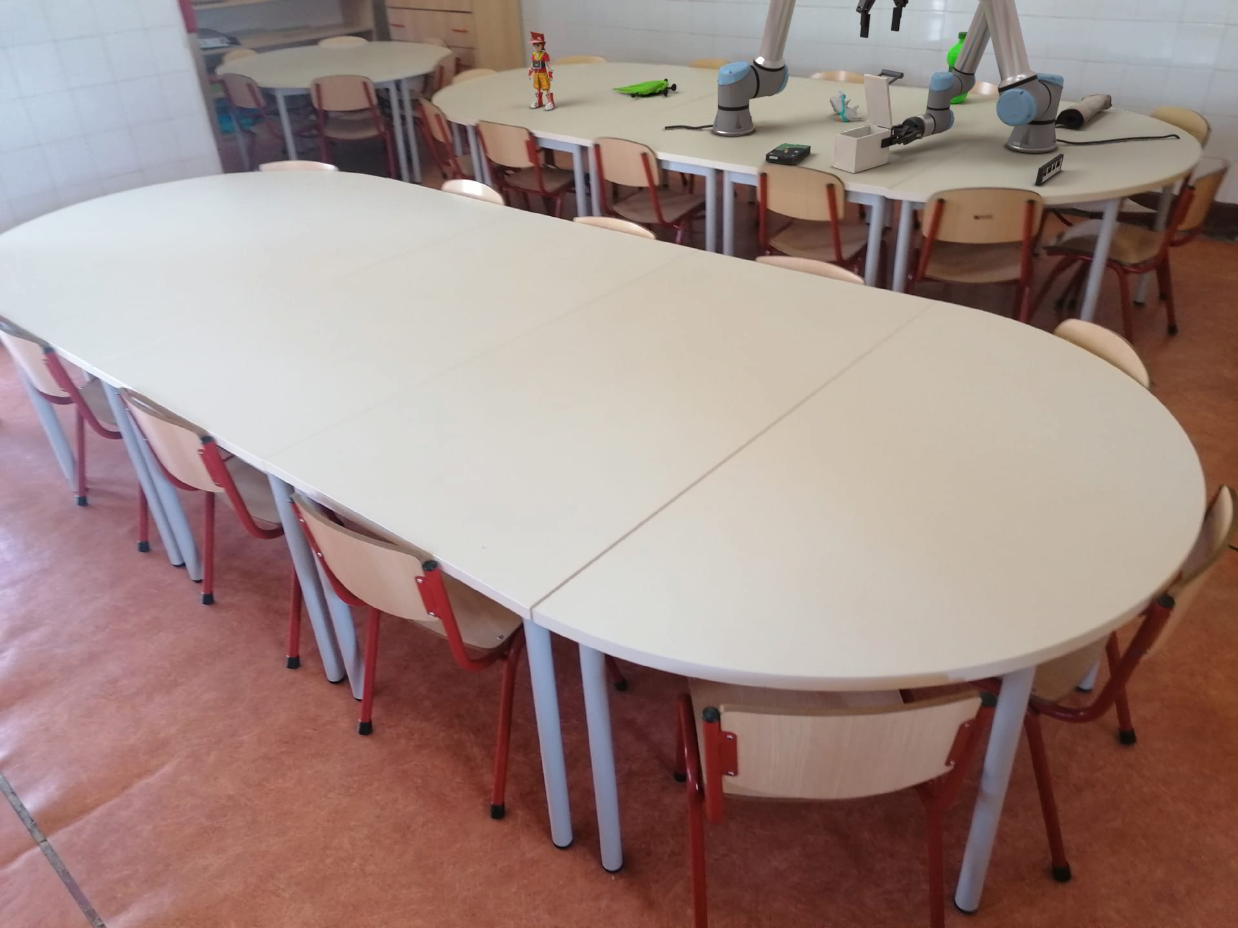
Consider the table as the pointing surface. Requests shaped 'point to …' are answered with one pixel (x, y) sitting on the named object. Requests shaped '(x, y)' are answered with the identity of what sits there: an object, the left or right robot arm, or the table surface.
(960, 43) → the plastic bottle
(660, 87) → the toy
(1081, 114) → the rolled mat
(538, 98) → the toy
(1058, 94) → the right robot arm
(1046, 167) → the midi keyboard
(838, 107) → the anatomical model
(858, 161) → the chest
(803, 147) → the disk drive
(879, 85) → the lid
